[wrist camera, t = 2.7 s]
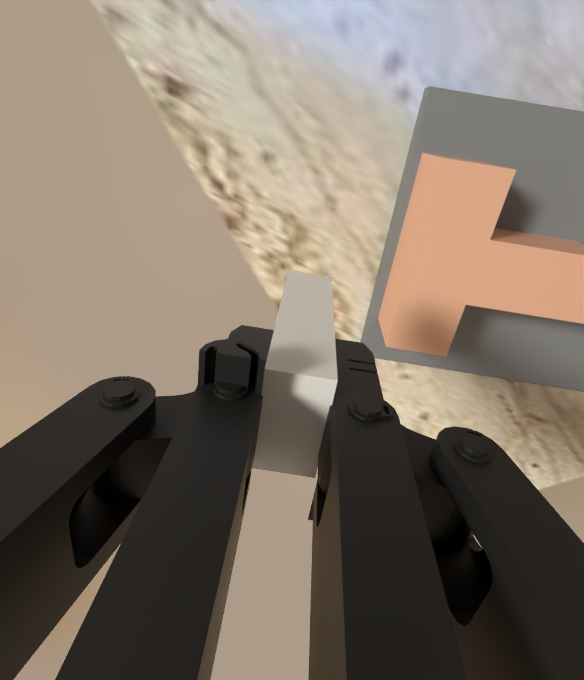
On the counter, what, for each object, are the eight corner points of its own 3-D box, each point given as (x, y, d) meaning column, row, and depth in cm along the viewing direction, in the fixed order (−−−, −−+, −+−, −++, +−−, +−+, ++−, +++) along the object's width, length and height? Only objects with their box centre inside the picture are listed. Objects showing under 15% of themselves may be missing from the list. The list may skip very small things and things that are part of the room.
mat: (424, 88, 22) (429, 86, 21) (737, 139, 22) (758, 140, 21) (359, 347, 29) (360, 355, 28) (592, 384, 29) (602, 394, 28)
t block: (422, 152, 22) (440, 157, 19) (603, 182, 22) (656, 192, 19) (377, 317, 27) (385, 347, 23) (528, 341, 27) (558, 374, 23)
